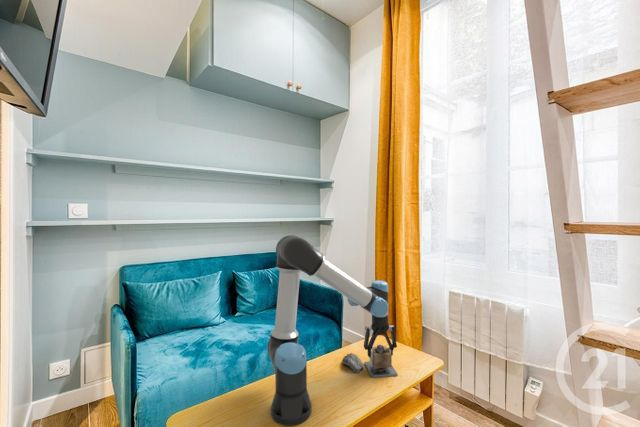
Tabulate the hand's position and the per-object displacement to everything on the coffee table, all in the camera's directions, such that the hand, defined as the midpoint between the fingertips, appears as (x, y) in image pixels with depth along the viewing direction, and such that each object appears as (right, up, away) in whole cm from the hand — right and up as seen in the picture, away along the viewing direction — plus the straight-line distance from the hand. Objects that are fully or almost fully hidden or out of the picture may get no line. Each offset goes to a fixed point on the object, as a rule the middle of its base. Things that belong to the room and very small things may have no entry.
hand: (380, 362), depth 138 cm
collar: (0, 0, 0) cm, 0 cm away
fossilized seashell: (-13, -4, +3) cm, 14 cm away
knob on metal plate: (0, -3, 0) cm, 3 cm away
